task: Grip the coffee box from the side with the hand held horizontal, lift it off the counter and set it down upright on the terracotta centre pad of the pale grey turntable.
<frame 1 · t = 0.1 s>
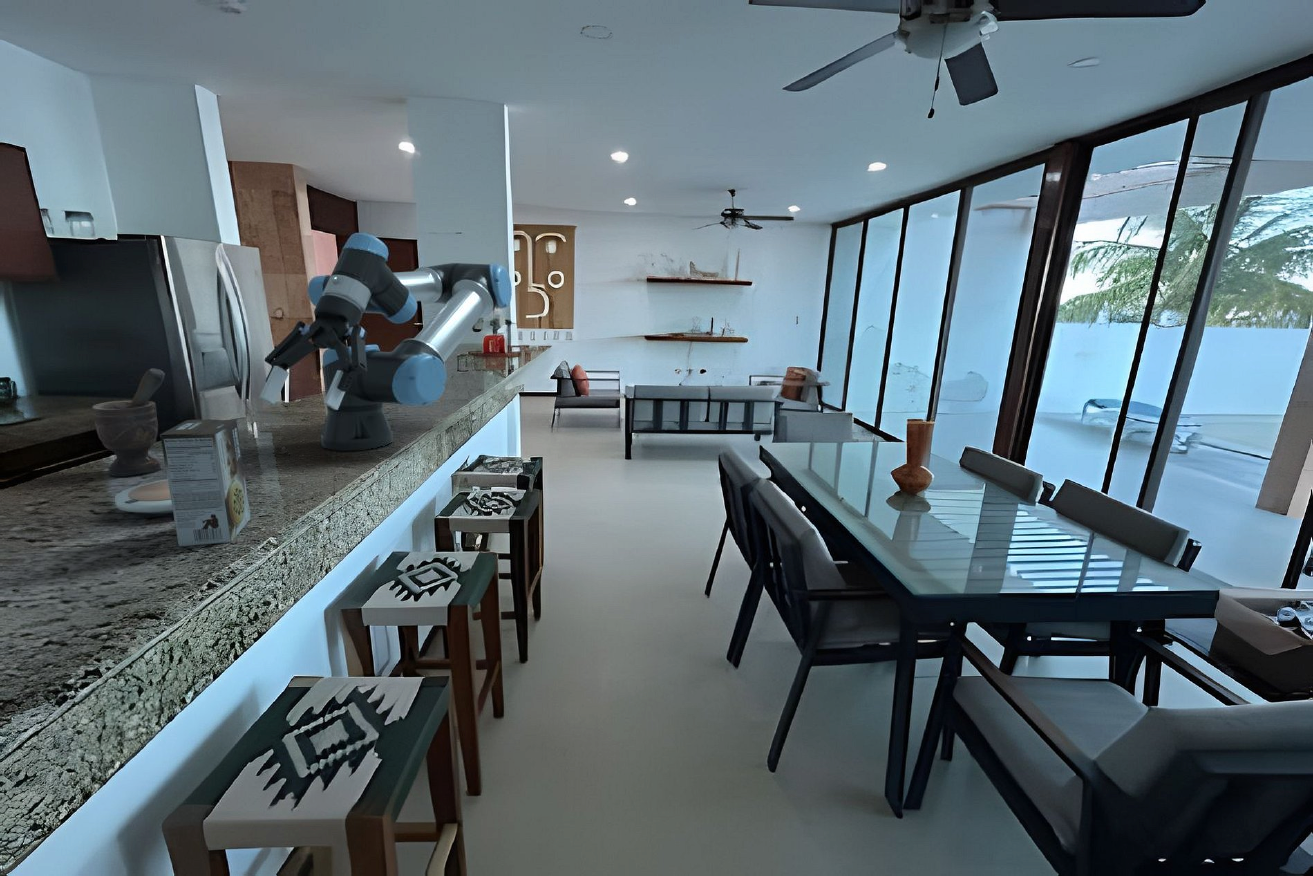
hand: (298, 403, 99), 15 cm above the worktop, tool tilted 35°, fingers open, 13 cm apart
turntable platter: (175, 492, 90), point 2 cm above the worktop, hinge at 0.0°
turntable base: (177, 506, 90), on the worktop
coffee box: (216, 533, 82), on the worktop
mortar and pestle: (146, 472, 106), on the worktop
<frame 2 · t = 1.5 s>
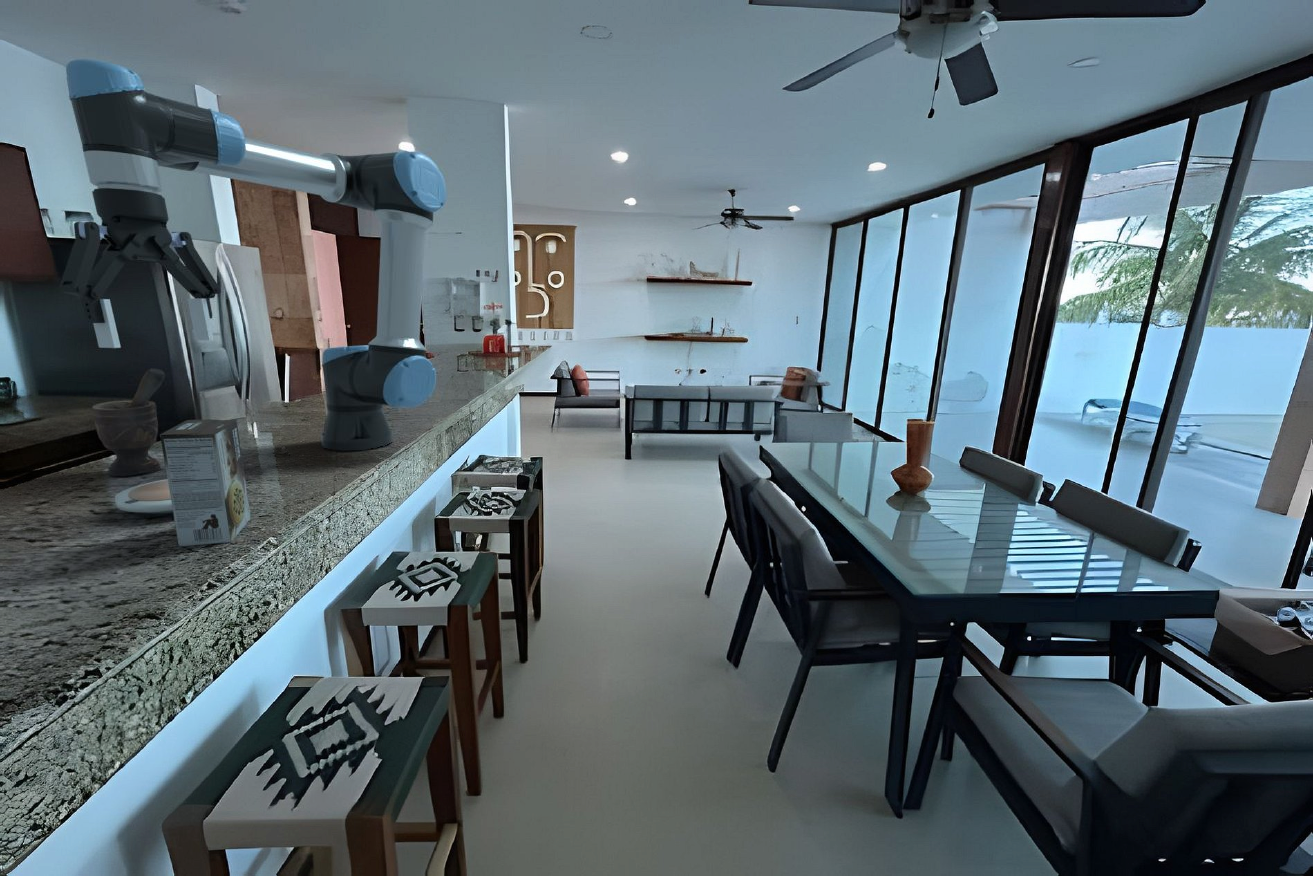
hand: (161, 343, 83), 26 cm above the worktop, tool pointing down, fingers open, 13 cm apart
nothing on the worktop moved.
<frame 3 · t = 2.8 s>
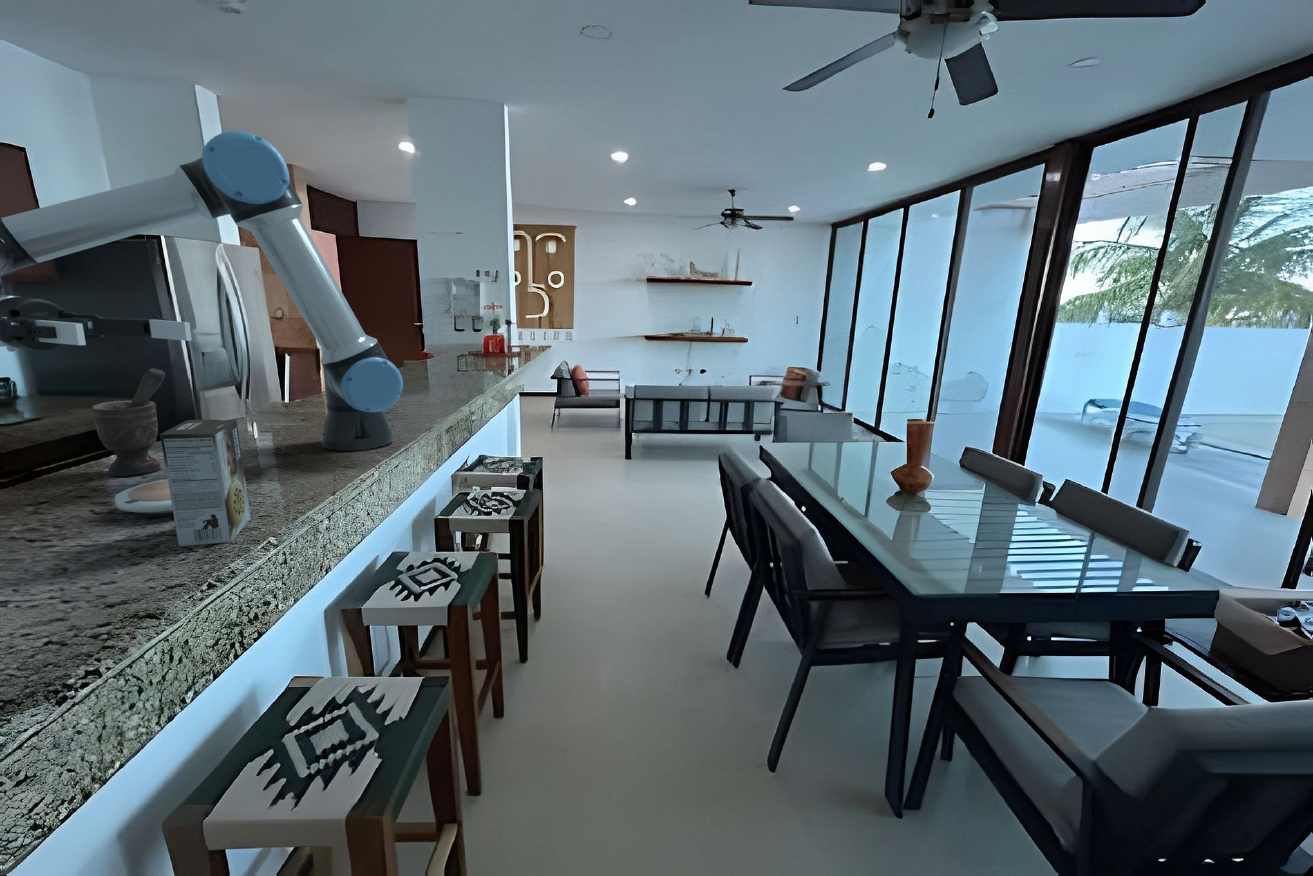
hand: (139, 332, 77), 28 cm above the worktop, tool horizontal, fingers open, 13 cm apart
nothing on the worktop moved.
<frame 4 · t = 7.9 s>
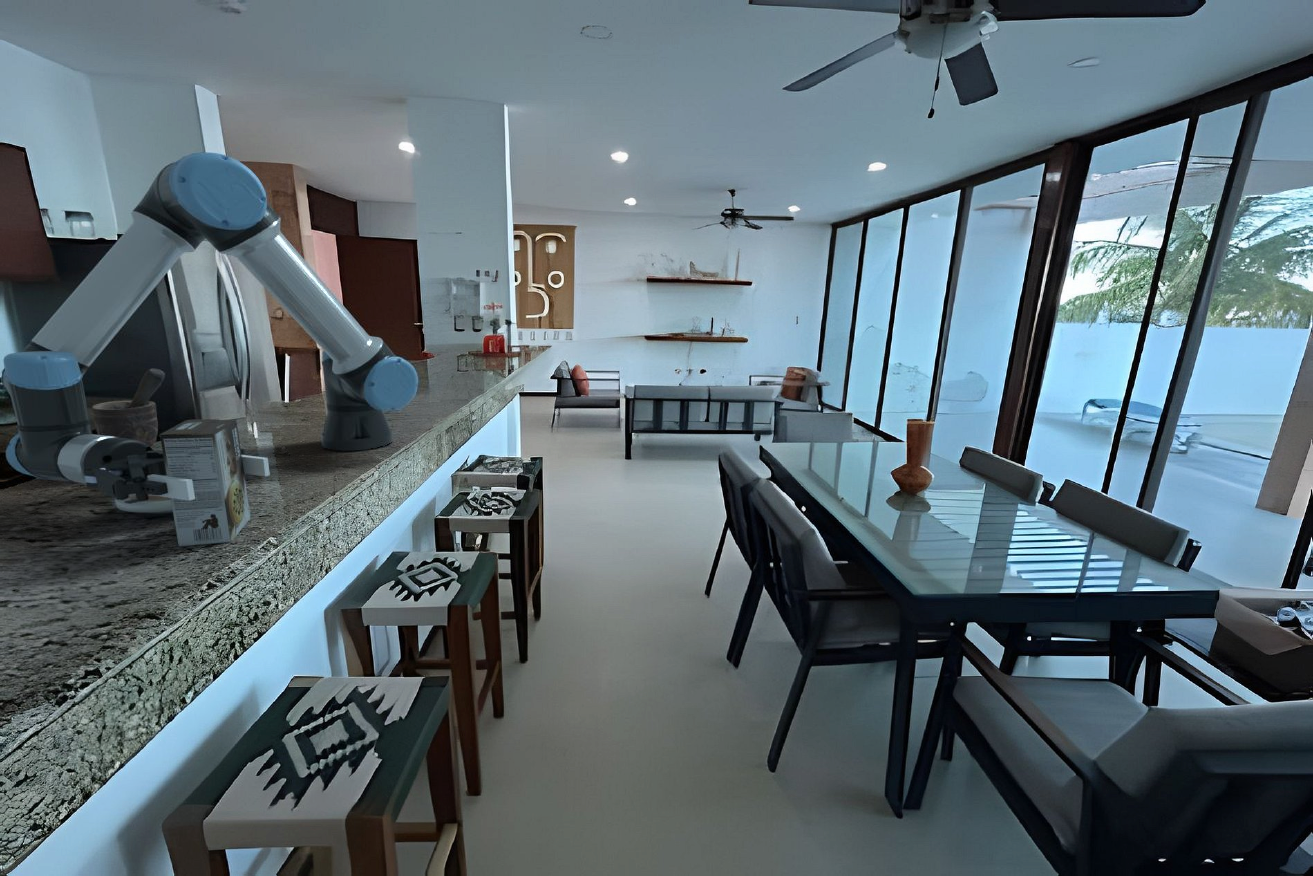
hand: (231, 477, 79), 9 cm above the worktop, tool horizontal, fingers closed on coffee box, 11 cm apart
coffee box: (216, 533, 82), on the worktop, touching gripper
everything else where it was.
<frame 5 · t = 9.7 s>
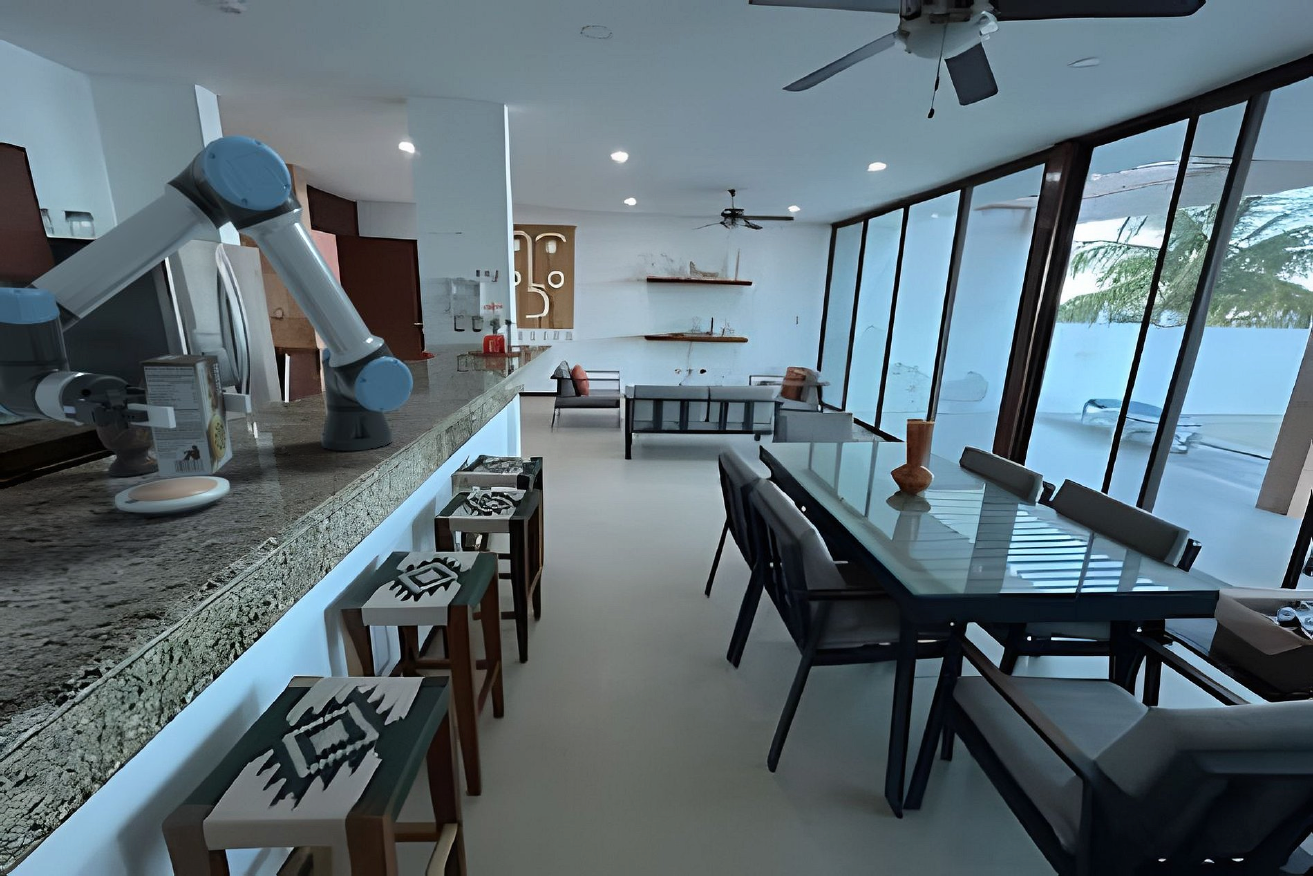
hand: (212, 410, 79), 18 cm above the worktop, tool horizontal, fingers closed on coffee box, 11 cm apart
coffee box: (198, 468, 82), point 9 cm above the worktop, touching gripper
everything else where it was.
when the fingers open (13 cm above the worktop, at t = 11.8 s): coffee box drops 1 cm, resting on turntable platter.
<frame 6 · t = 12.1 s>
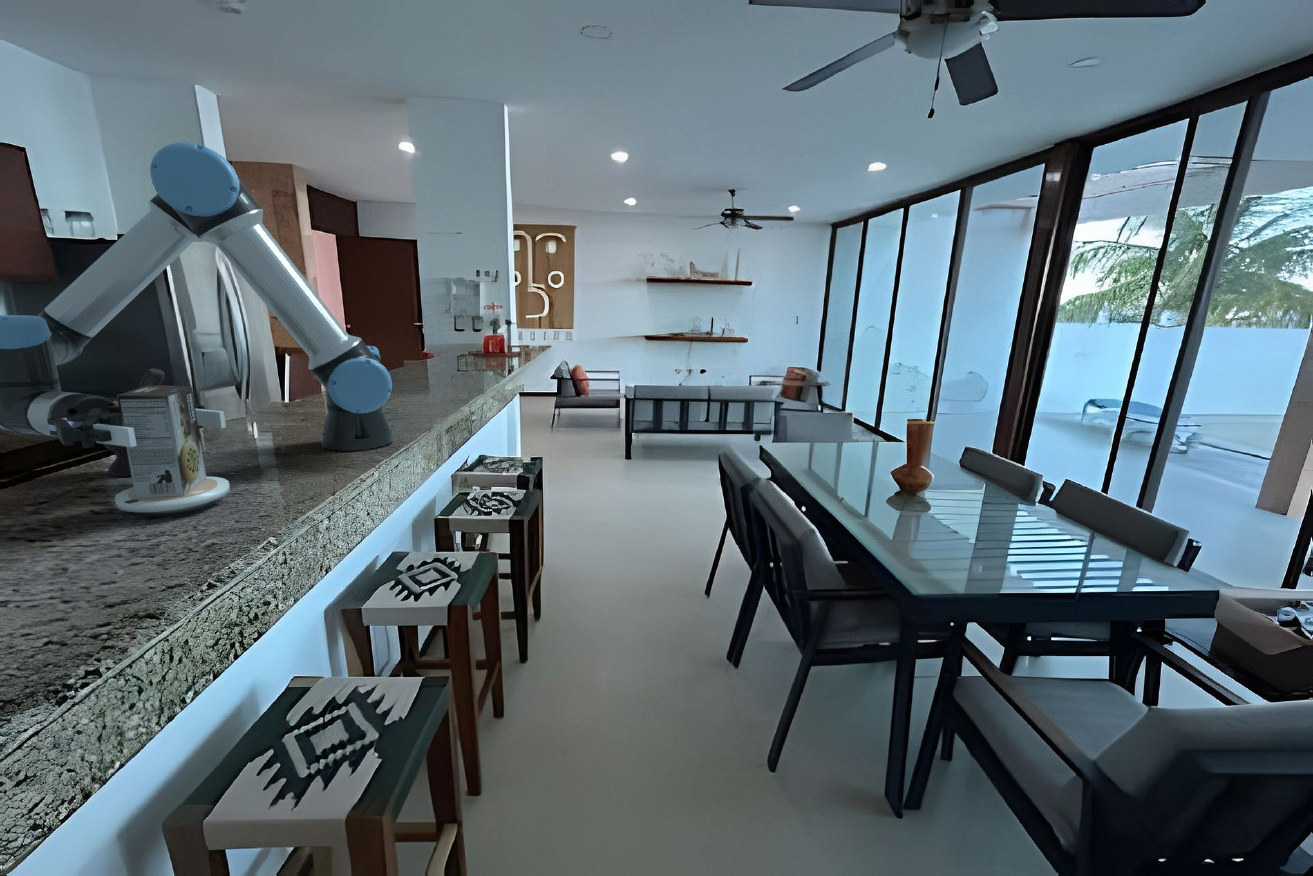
hand: (181, 427, 87), 13 cm above the worktop, tool horizontal, fingers open, 13 cm apart
turntable platter: (175, 492, 90), point 2 cm above the worktop, hinge at 0.0°, touching coffee box
coffee box: (172, 489, 89), point 3 cm above the worktop, touching turntable platter
everything else where it was.
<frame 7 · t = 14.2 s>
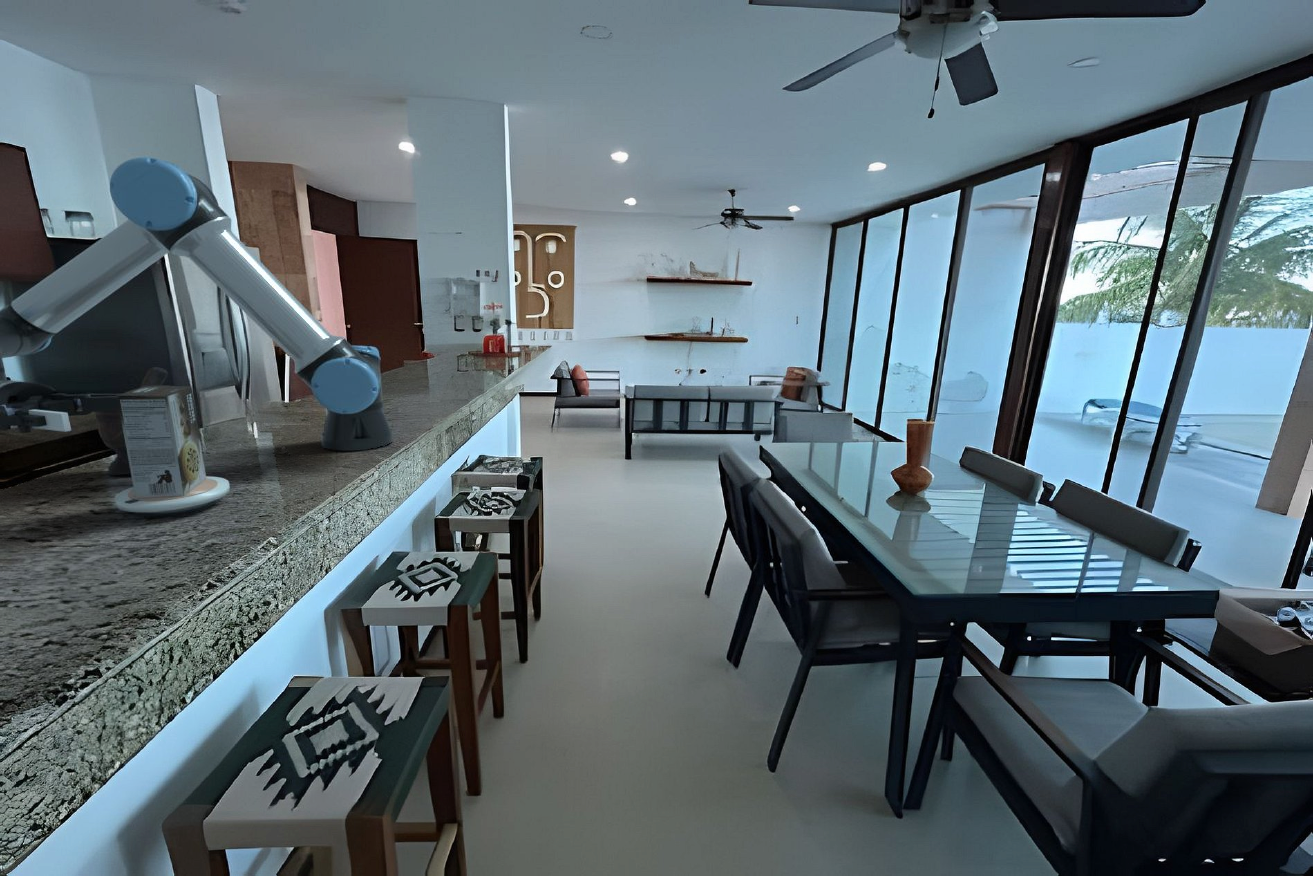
hand: (118, 413, 89), 15 cm above the worktop, tool horizontal, fingers open, 13 cm apart
nothing on the worktop moved.
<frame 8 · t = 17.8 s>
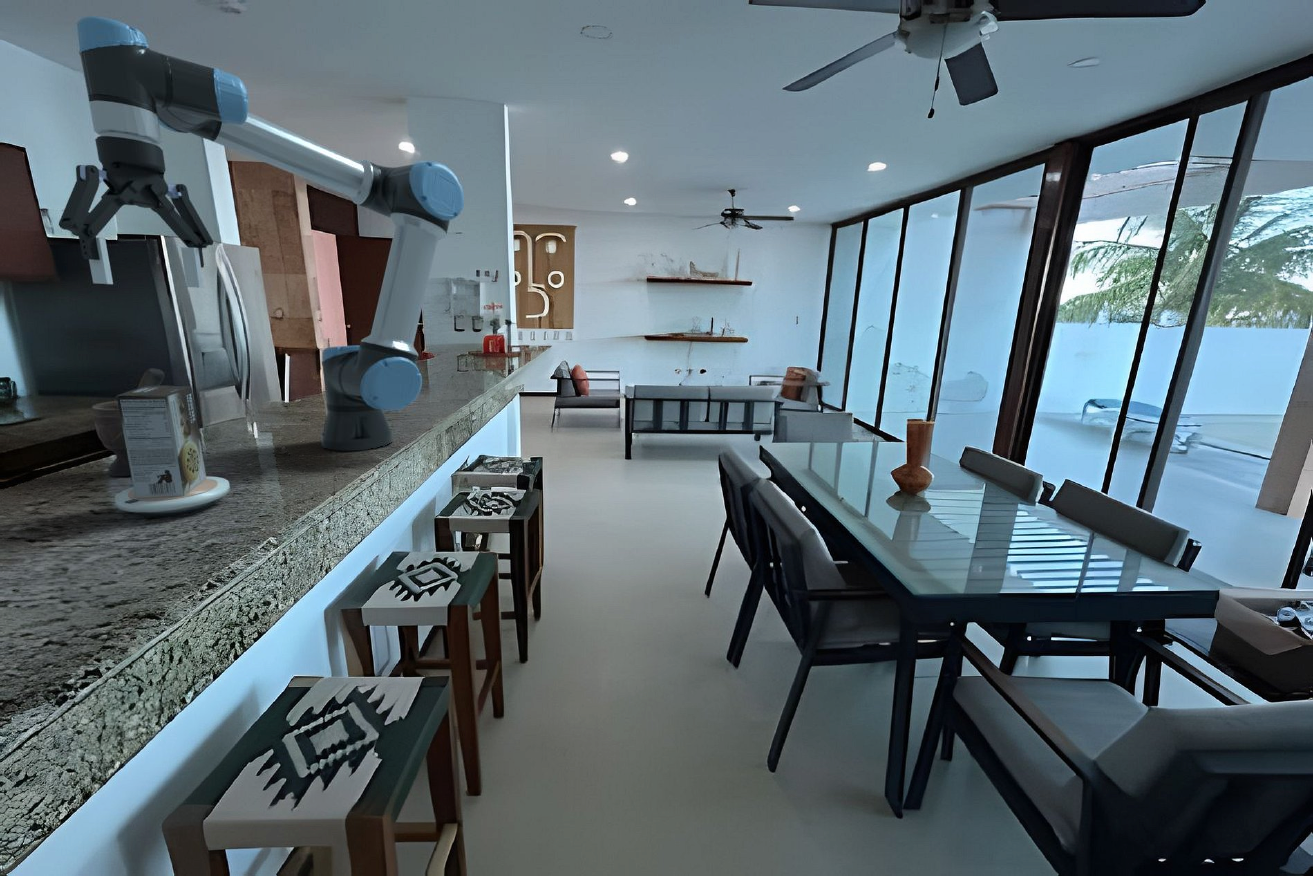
hand: (152, 285, 89), 35 cm above the worktop, tool pointing down, fingers open, 13 cm apart
nothing on the worktop moved.
at the end: coffee box 0.2 cm from the turntable platter (horizontally); coffee box tilted 0°; coffee box point 2.9 cm above the worktop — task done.
